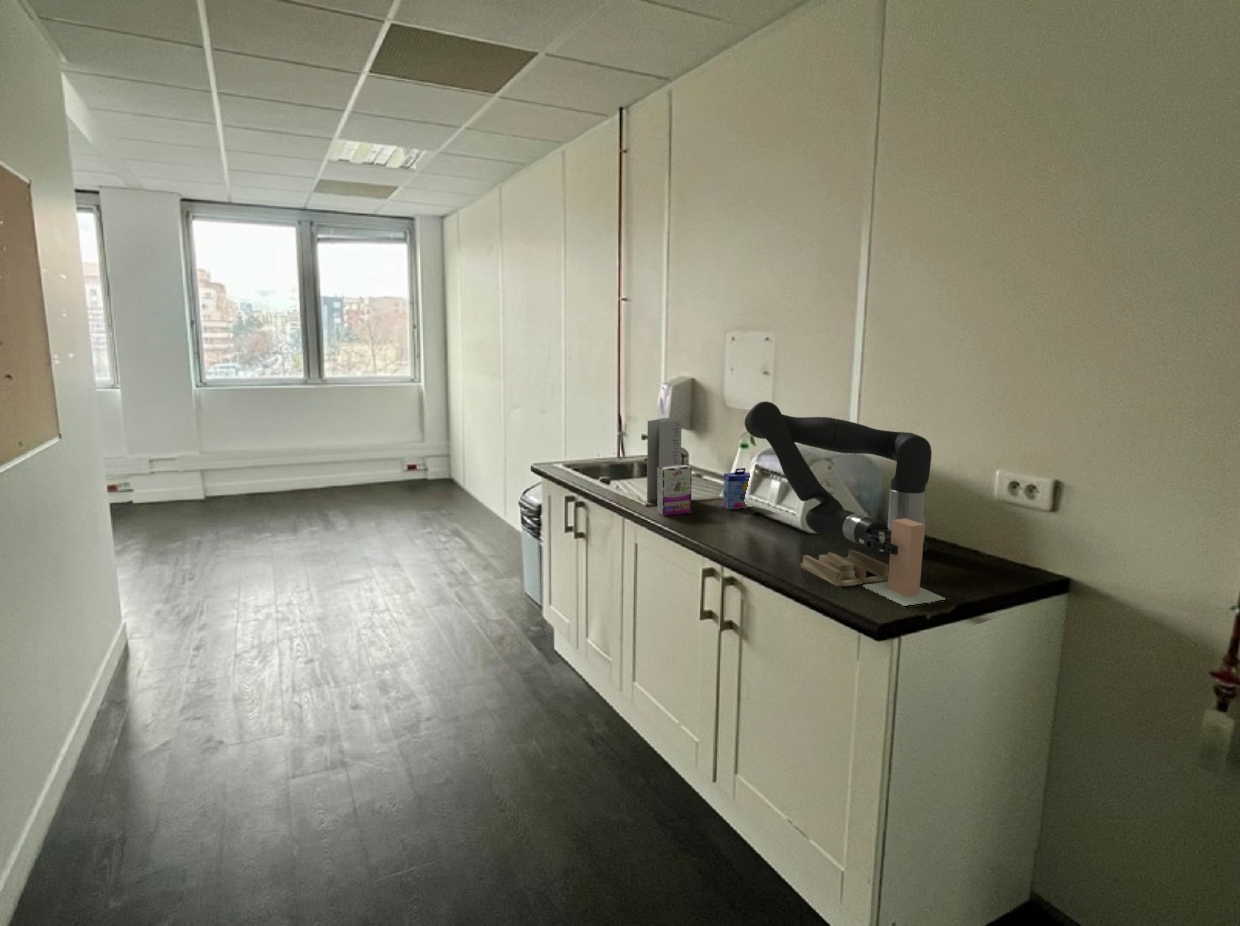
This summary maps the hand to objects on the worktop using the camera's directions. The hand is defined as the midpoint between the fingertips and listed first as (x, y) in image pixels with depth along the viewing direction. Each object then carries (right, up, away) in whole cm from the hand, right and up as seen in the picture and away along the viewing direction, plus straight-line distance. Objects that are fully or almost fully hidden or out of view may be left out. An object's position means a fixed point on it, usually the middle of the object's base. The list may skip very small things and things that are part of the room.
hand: (911, 548), depth 164 cm
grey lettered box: (-52, +6, +99) cm, 112 cm away
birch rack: (-10, -8, +18) cm, 22 cm away
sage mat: (-1, -11, +3) cm, 12 cm away
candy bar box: (-49, +3, +79) cm, 93 cm away
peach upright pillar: (-1, -11, +3) cm, 11 cm away
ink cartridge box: (-26, +4, +88) cm, 91 cm away
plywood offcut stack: (-13, -9, +17) cm, 23 cm away
